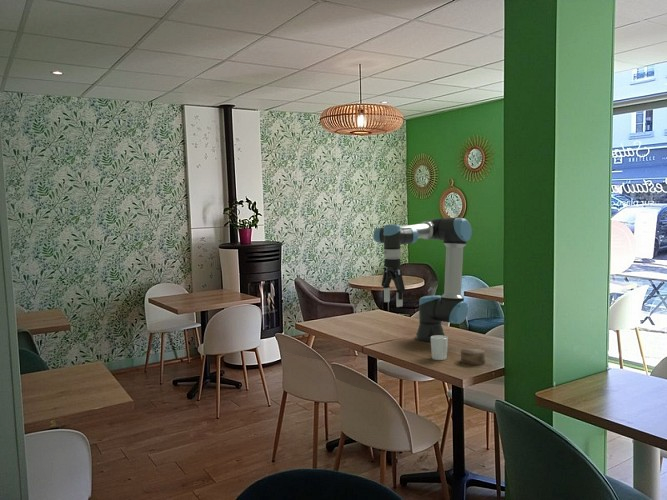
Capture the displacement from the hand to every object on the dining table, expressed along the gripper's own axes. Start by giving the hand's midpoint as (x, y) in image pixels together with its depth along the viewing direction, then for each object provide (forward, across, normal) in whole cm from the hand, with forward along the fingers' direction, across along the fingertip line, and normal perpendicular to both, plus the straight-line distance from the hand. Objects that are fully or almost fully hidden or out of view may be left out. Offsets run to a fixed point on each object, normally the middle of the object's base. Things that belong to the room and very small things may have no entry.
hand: (393, 304), depth 255 cm
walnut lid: (+26, +17, +31) cm, 44 cm away
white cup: (+26, +5, +21) cm, 34 cm away
